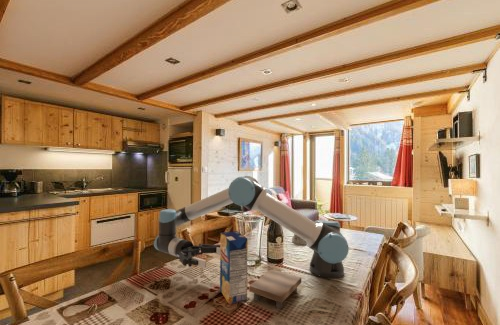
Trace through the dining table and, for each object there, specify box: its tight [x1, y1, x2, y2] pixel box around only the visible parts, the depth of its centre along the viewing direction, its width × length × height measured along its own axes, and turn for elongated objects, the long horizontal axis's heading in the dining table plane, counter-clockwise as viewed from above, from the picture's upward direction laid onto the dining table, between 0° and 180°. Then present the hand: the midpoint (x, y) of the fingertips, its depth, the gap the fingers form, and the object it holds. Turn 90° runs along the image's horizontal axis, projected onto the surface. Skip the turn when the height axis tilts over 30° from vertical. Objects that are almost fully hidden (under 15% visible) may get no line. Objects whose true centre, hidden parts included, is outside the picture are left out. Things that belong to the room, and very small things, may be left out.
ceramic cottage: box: [292, 233, 307, 246], centre depth 157 cm, size 16×16×15 cm
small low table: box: [248, 268, 302, 310], centre depth 90 cm, size 17×13×5 cm
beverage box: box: [219, 230, 249, 305], centre depth 90 cm, size 7×11×22 cm, turn 23°
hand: (217, 258), depth 94 cm, fingers open, 13 cm apart
